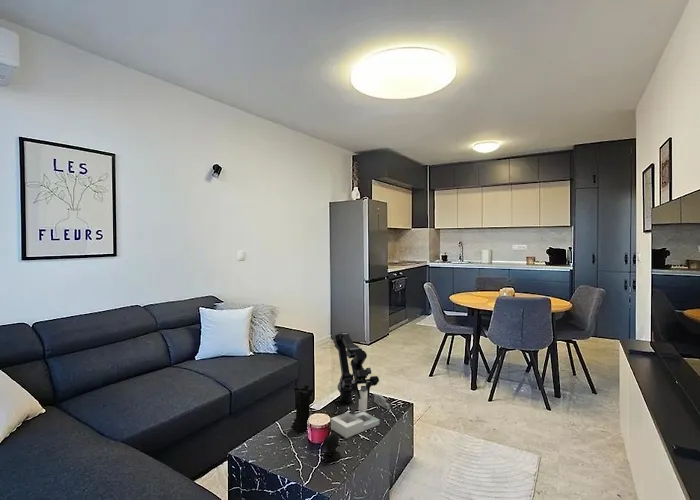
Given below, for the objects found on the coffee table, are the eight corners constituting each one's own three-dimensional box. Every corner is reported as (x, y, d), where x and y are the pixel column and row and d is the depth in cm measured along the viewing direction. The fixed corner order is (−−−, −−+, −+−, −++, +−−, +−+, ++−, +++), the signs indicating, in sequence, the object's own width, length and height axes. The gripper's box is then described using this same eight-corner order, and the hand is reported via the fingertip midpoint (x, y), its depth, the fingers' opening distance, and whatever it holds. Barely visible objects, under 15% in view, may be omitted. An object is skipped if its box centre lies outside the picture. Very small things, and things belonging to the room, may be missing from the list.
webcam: (330, 450, 170) (330, 427, 169) (344, 455, 166) (345, 432, 165) (319, 458, 163) (319, 434, 163) (333, 464, 159) (334, 440, 159)
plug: (357, 410, 194) (357, 386, 194) (361, 407, 198) (362, 384, 198) (364, 412, 192) (365, 388, 192) (368, 409, 196) (369, 386, 195)
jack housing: (330, 428, 189) (330, 418, 189) (363, 416, 204) (363, 406, 204) (346, 438, 180) (346, 427, 180) (379, 424, 195) (379, 414, 195)
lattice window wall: (389, 409, 213) (390, 398, 213) (387, 410, 212) (387, 399, 212) (375, 401, 223) (376, 391, 222) (373, 402, 222) (373, 392, 221)
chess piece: (297, 434, 182) (299, 392, 182) (291, 427, 189) (292, 386, 189) (313, 430, 187) (314, 389, 186) (306, 423, 193) (307, 384, 193)
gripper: (344, 363, 195) (350, 393, 185) (378, 360, 201) (386, 389, 191) (339, 373, 203) (344, 402, 193) (372, 370, 209) (379, 399, 199)
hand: (364, 398), depth 194 cm, fingers closed on plug, 4 cm apart
